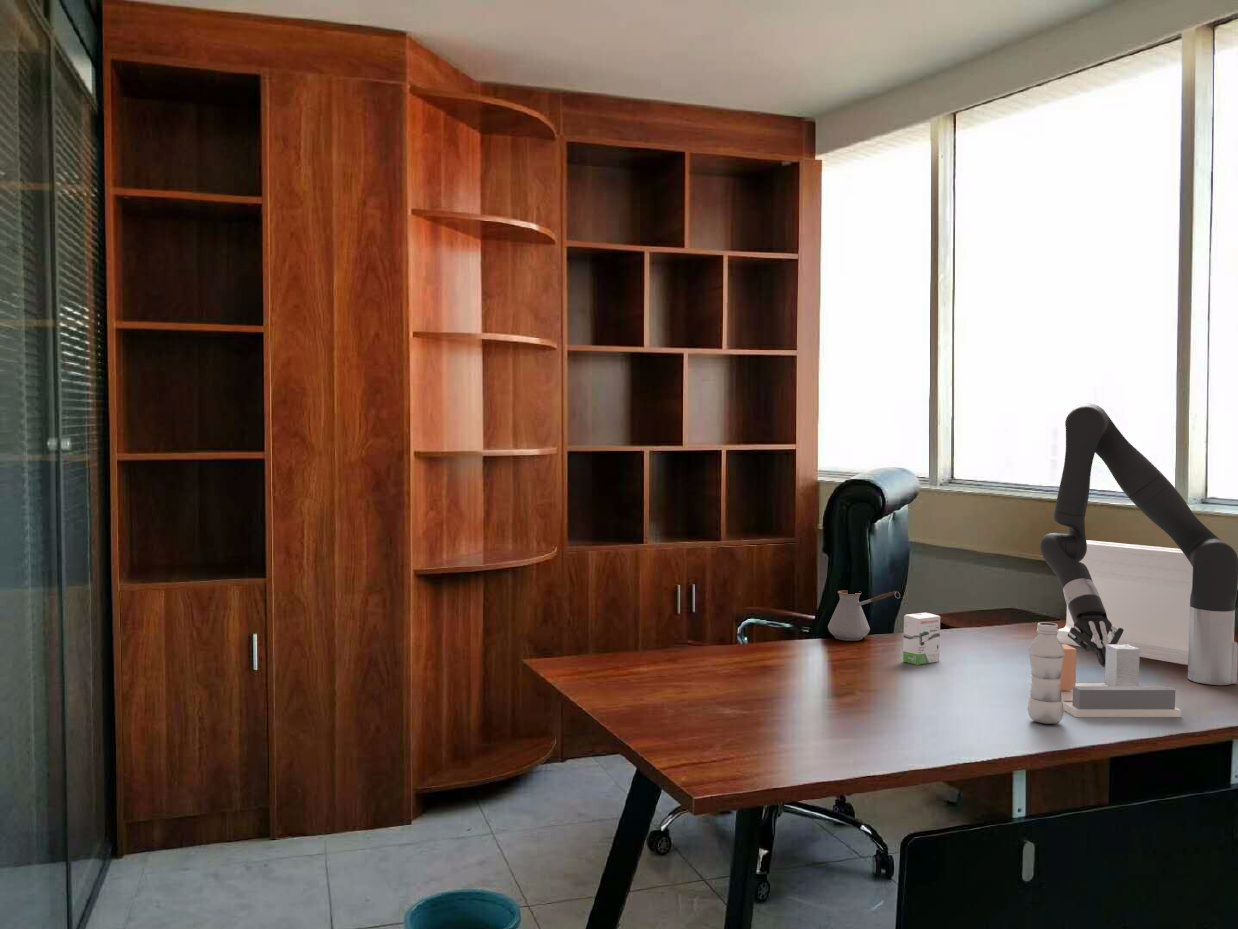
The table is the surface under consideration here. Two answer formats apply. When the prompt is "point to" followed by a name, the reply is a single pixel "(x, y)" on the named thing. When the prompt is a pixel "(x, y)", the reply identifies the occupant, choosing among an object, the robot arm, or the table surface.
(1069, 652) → the tall salmon pillar
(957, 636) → the table surface
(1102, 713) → the plate
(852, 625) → the coffee pot
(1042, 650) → the plastic bottle
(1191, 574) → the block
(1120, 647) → the brushed metal pillar
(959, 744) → the table surface
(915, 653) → the ink box
